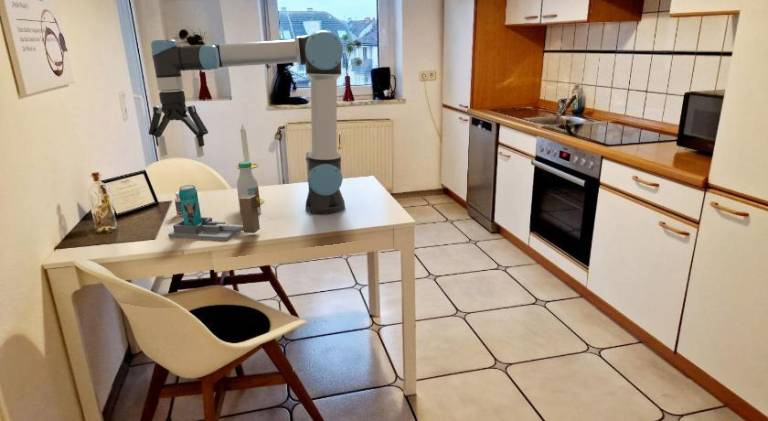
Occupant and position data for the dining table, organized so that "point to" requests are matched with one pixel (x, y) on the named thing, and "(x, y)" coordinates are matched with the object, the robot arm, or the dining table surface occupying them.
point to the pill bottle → (178, 204)
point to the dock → (202, 230)
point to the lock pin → (245, 216)
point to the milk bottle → (247, 183)
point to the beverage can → (190, 205)
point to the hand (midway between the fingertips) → (182, 156)
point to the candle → (246, 151)
